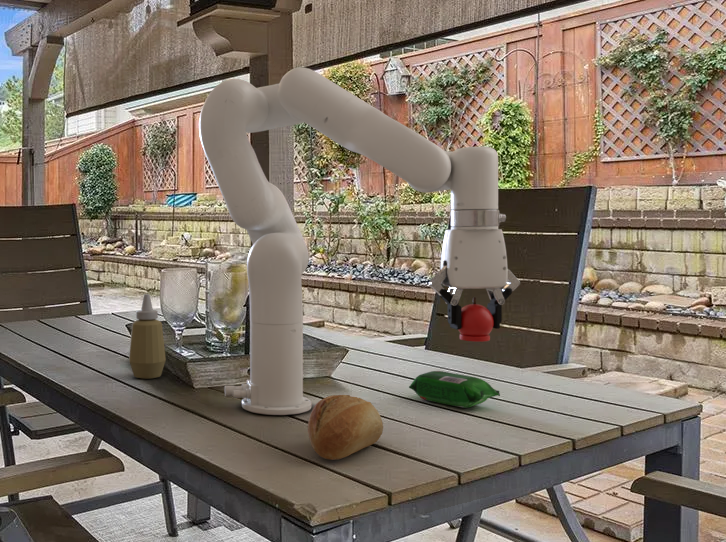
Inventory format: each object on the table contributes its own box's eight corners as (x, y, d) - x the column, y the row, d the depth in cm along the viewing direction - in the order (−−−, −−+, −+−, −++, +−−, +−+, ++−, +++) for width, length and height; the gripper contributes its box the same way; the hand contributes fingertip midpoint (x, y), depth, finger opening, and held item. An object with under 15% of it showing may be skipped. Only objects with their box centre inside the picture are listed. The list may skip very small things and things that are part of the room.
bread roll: (291, 459, 106) (291, 403, 106) (334, 434, 119) (334, 384, 119) (355, 471, 101) (355, 412, 101) (393, 444, 113) (393, 391, 113)
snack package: (478, 415, 131) (478, 385, 130) (406, 397, 143) (406, 370, 143) (502, 409, 135) (502, 380, 135) (429, 393, 147) (430, 366, 147)
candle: (465, 342, 124) (464, 299, 123) (450, 337, 130) (450, 295, 129) (500, 341, 124) (500, 298, 124) (483, 336, 130) (483, 295, 130)
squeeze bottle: (164, 380, 160) (164, 296, 160) (126, 380, 160) (126, 296, 160) (166, 372, 168) (166, 292, 168) (130, 373, 169) (130, 292, 168)
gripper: (512, 220, 131) (513, 324, 131) (416, 221, 130) (416, 326, 130) (535, 220, 123) (535, 330, 124) (432, 221, 122) (433, 332, 122)
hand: (474, 326), depth 127 cm, fingers closed on candle, 6 cm apart
